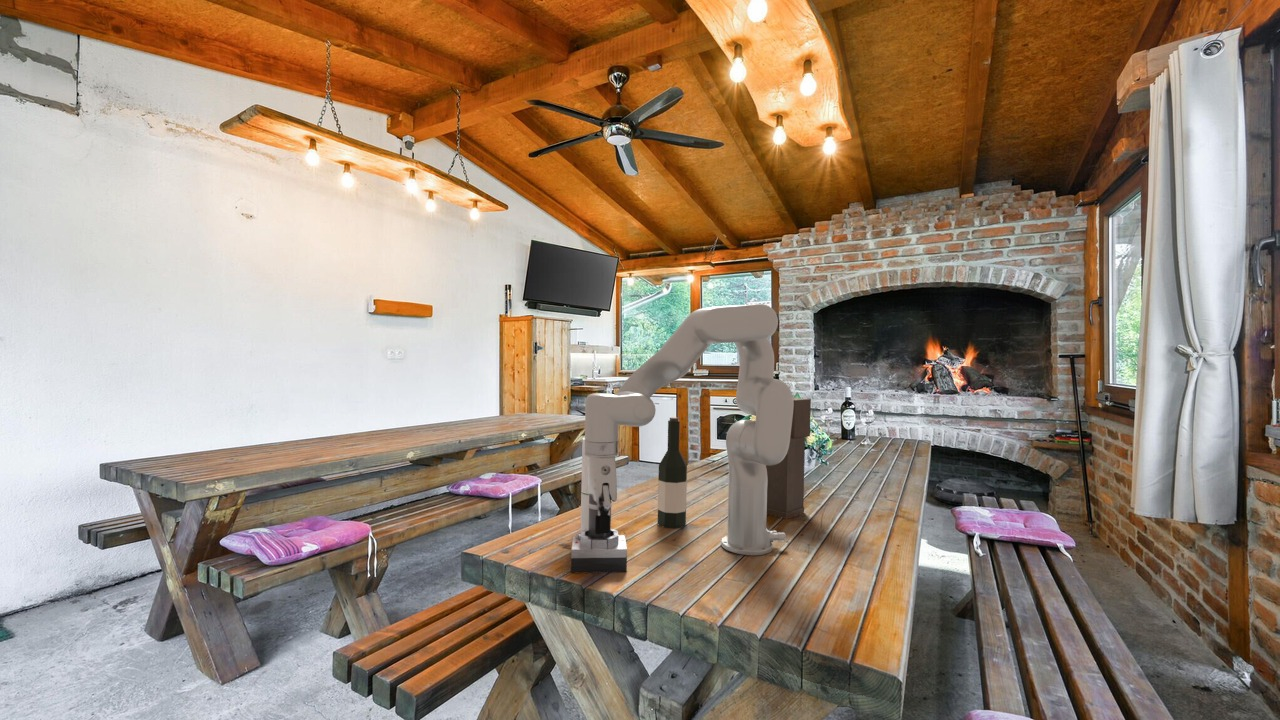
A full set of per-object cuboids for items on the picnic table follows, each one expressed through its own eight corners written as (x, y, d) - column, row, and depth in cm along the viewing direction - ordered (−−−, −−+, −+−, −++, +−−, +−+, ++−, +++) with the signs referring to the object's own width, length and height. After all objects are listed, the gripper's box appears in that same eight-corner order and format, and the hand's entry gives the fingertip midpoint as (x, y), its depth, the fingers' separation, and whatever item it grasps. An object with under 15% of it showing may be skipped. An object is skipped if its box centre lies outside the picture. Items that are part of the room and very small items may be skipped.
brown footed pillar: (810, 510, 166) (812, 399, 166) (786, 519, 156) (789, 401, 156) (758, 498, 180) (760, 395, 180) (733, 505, 170) (735, 396, 170)
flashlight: (608, 534, 122) (609, 490, 122) (613, 542, 117) (614, 496, 117) (586, 536, 121) (586, 491, 121) (590, 543, 116) (591, 497, 116)
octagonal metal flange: (624, 556, 124) (624, 526, 124) (626, 572, 115) (627, 540, 115) (572, 557, 123) (573, 527, 123) (571, 572, 114) (571, 540, 114)
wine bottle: (691, 522, 151) (693, 417, 151) (677, 530, 144) (680, 420, 144) (666, 517, 155) (668, 415, 155) (651, 524, 148) (653, 417, 148)
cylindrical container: (603, 537, 136) (605, 441, 136) (576, 535, 138) (578, 439, 138) (610, 529, 143) (612, 437, 143) (585, 527, 145) (587, 436, 145)
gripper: (627, 454, 112) (625, 540, 112) (609, 442, 128) (607, 517, 128) (592, 455, 110) (590, 543, 110) (578, 442, 126) (577, 519, 126)
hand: (599, 528), depth 119 cm, fingers closed on flashlight, 5 cm apart
